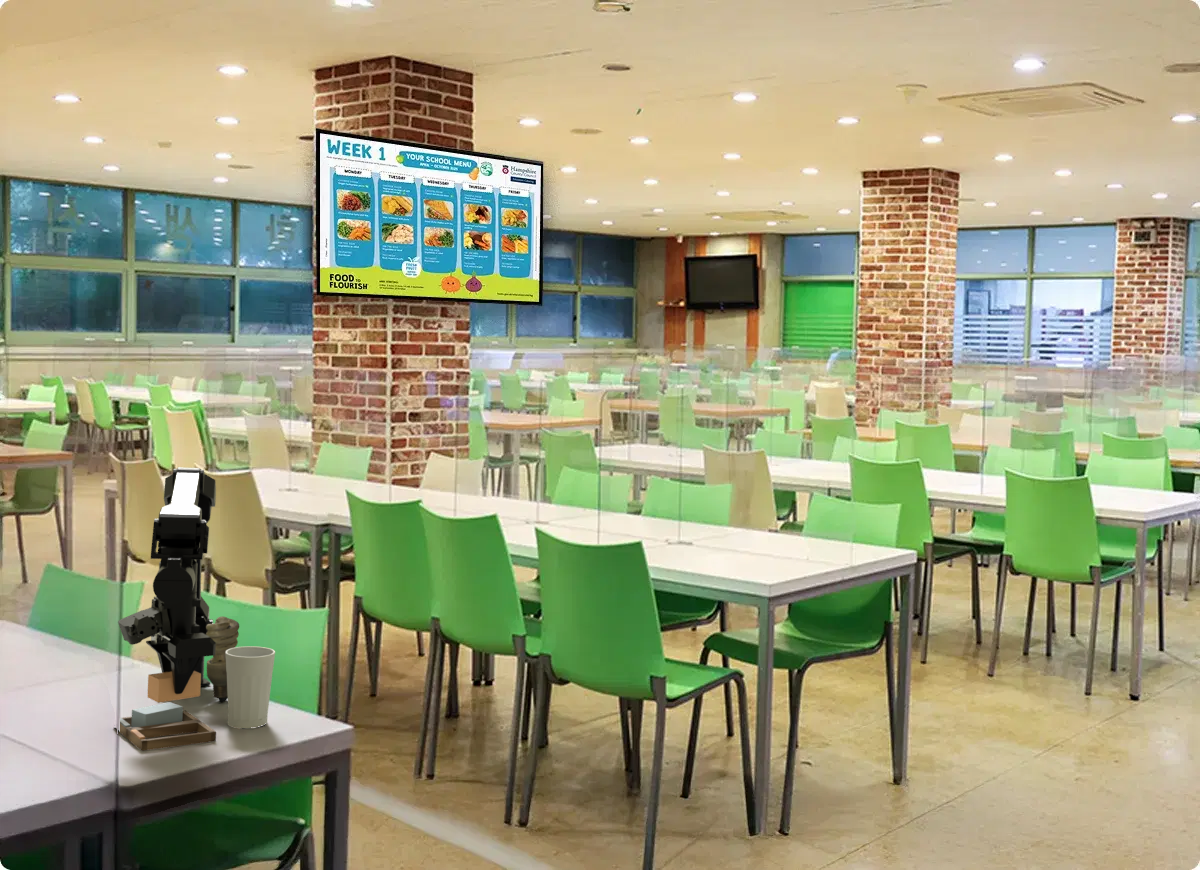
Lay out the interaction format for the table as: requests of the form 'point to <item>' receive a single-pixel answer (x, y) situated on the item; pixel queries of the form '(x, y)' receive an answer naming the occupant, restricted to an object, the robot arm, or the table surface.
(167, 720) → the slate bar
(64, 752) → the table surface
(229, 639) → the light bulb
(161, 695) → the terracotta bar
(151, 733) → the divided wooden tray
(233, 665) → the cup
